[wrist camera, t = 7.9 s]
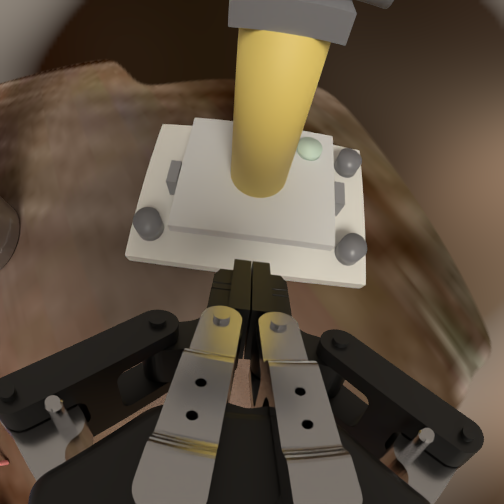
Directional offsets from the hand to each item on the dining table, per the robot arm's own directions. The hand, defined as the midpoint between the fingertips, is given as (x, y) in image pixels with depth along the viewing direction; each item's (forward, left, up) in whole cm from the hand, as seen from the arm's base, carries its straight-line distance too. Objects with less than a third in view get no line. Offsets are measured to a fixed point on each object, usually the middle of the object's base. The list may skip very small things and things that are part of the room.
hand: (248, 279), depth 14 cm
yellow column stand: (0, +12, -12) cm, 17 cm away
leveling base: (0, +12, -16) cm, 20 cm away
